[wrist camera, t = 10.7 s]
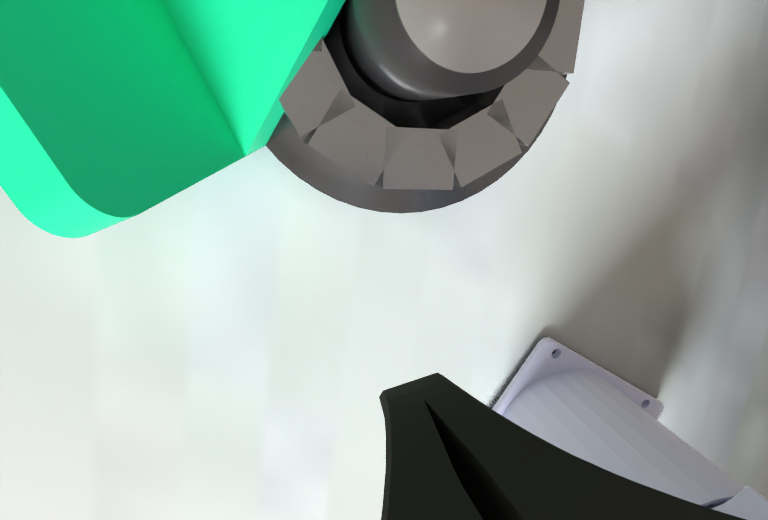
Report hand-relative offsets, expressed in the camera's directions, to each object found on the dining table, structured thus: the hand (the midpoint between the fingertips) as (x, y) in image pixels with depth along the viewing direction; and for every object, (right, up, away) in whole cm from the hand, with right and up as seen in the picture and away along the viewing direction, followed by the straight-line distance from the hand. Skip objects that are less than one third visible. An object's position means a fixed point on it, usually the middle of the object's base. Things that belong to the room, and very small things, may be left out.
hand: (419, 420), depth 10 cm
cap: (0, +12, +6) cm, 13 cm away
